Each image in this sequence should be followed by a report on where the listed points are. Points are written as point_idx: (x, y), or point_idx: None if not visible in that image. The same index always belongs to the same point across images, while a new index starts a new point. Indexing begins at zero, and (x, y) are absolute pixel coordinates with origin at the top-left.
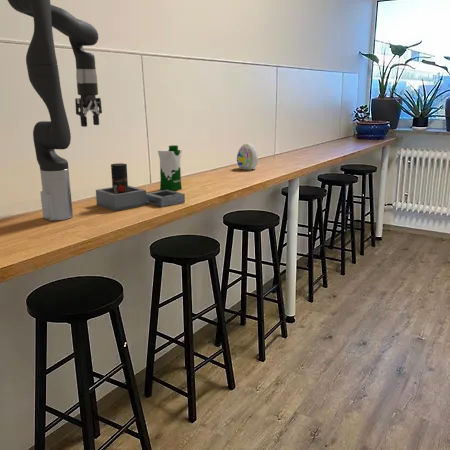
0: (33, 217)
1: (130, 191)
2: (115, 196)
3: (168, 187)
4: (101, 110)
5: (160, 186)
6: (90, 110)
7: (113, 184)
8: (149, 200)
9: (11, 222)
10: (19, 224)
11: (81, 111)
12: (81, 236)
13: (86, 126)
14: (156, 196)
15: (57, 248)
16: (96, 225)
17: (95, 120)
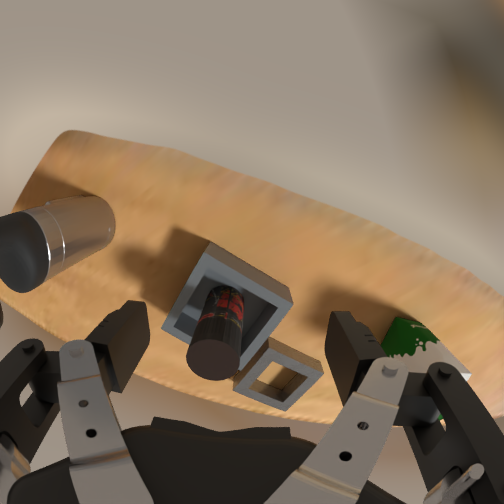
0: (80, 171)
1: (263, 321)
2: (164, 328)
3: (385, 344)
4: (428, 431)
5: (398, 322)
6: (351, 398)
7: (199, 317)
8: (256, 354)
9: (50, 160)
10: (45, 184)
11: (33, 405)
12: (46, 315)
13: (147, 335)
14: (246, 378)
15: (16, 307)
16: (85, 315)
17: (338, 351)
